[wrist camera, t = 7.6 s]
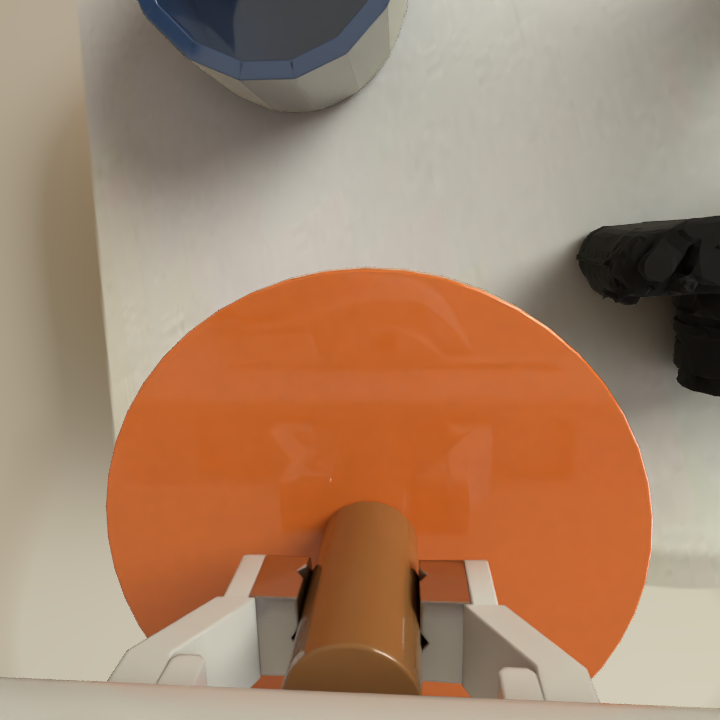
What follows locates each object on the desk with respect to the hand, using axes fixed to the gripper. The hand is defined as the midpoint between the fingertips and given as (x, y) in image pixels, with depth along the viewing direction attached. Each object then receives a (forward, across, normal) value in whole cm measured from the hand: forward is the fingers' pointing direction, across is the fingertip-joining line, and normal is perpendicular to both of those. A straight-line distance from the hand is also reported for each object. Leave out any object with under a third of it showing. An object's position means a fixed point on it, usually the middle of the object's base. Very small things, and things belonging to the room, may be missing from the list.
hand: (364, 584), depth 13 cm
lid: (+2, 0, 0) cm, 2 cm away
